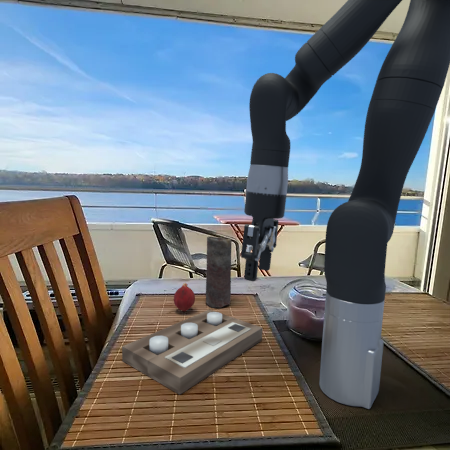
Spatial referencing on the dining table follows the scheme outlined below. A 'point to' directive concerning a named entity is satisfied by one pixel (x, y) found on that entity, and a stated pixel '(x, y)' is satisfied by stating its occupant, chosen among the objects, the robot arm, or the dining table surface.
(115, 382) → the dining table surface
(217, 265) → the candle
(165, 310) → the dining table surface
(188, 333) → the button middle
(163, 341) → the button left
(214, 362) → the button board
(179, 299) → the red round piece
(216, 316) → the button right
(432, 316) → the dining table surface
